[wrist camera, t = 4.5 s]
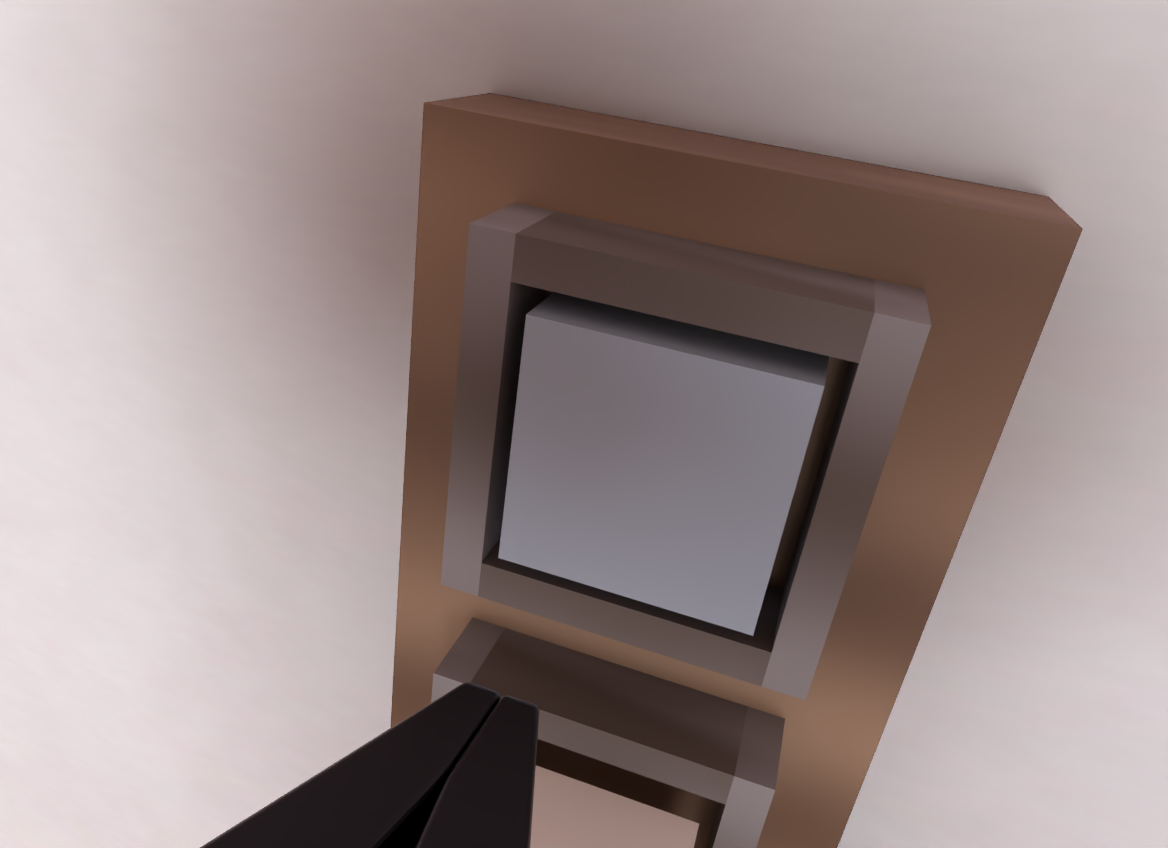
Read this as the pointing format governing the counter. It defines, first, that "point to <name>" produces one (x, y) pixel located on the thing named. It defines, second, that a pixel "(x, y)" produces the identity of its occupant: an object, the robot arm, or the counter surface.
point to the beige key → (600, 818)
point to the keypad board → (827, 477)
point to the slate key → (656, 456)
